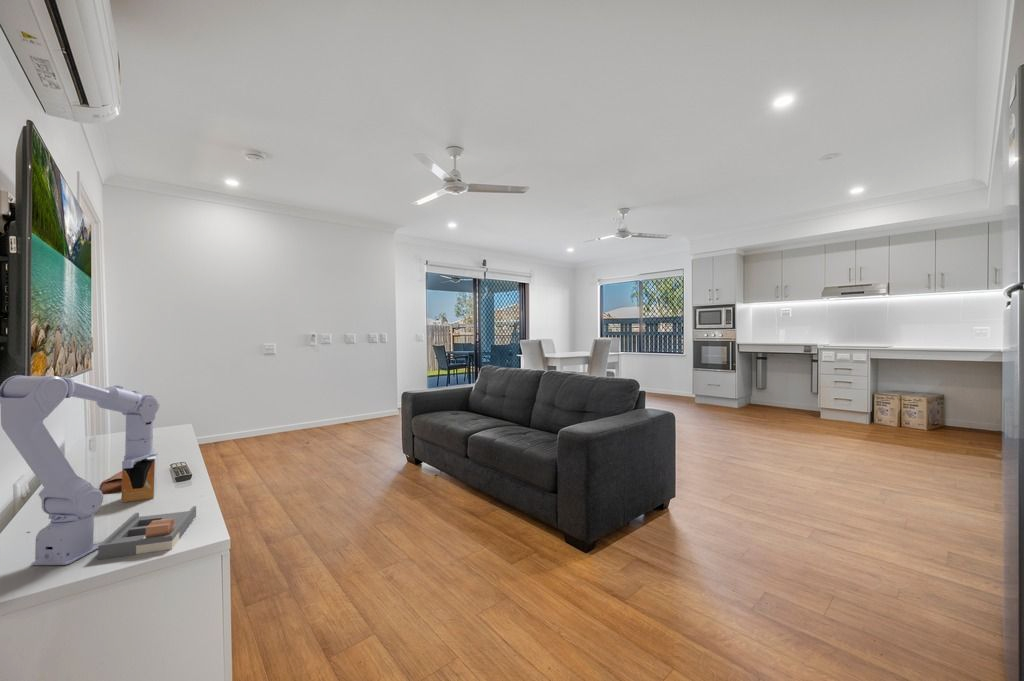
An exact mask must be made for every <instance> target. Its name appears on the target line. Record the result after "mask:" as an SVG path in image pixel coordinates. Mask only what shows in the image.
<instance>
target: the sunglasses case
mask: <svg viewBox="0 0 1024 681" xmlns="http://www.w3.org/2000/svg"><path fill="white" fill-rule="evenodd" d="M99 490H101V491H102V493H103V496H105V495H109V494H117V493H122V470H120V471H119V472H117V473H115V474H114V475H112V476H110V477H109V478H106V479H104V480H103V481H102V482H101V487H100V489H99ZM116 492H117V493H116Z"/></svg>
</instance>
